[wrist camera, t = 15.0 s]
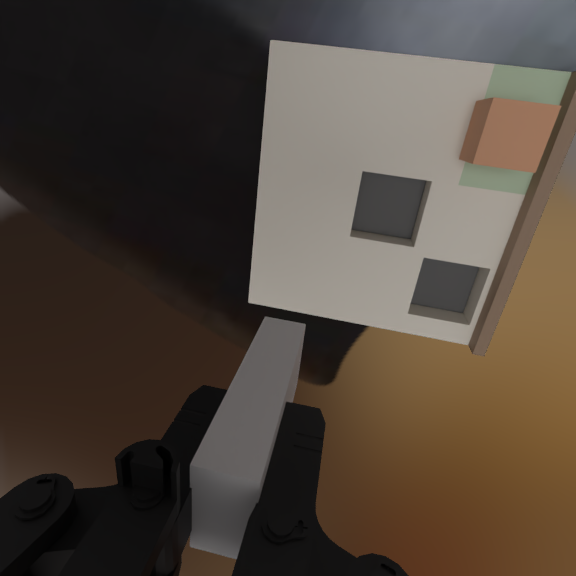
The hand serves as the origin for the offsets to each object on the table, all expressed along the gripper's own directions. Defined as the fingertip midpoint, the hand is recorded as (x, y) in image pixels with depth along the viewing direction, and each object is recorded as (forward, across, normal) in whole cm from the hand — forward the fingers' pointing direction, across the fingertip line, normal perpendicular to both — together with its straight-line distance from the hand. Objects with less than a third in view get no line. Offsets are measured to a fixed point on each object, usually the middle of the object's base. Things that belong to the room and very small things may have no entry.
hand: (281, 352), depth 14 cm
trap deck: (+23, +5, +2) cm, 24 cm away
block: (+21, +11, +8) cm, 25 cm away
